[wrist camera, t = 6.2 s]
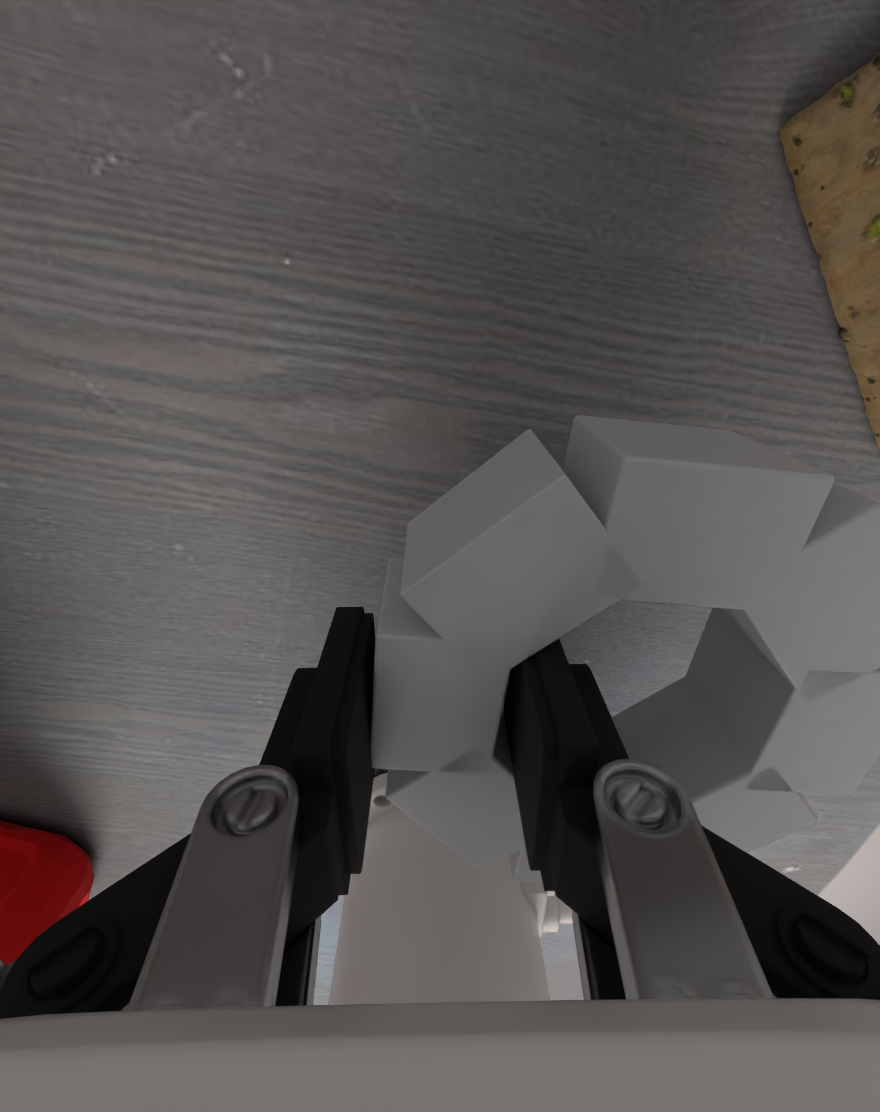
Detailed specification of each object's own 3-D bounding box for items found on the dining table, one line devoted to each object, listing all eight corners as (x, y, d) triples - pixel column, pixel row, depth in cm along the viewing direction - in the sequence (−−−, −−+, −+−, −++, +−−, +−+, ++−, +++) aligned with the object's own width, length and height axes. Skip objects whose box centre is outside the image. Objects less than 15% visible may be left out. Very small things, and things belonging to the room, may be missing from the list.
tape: (894, 445, 10) (1056, 497, 8) (723, 787, 15) (788, 895, 12) (398, 396, 10) (385, 432, 7) (375, 767, 14) (362, 876, 12)
